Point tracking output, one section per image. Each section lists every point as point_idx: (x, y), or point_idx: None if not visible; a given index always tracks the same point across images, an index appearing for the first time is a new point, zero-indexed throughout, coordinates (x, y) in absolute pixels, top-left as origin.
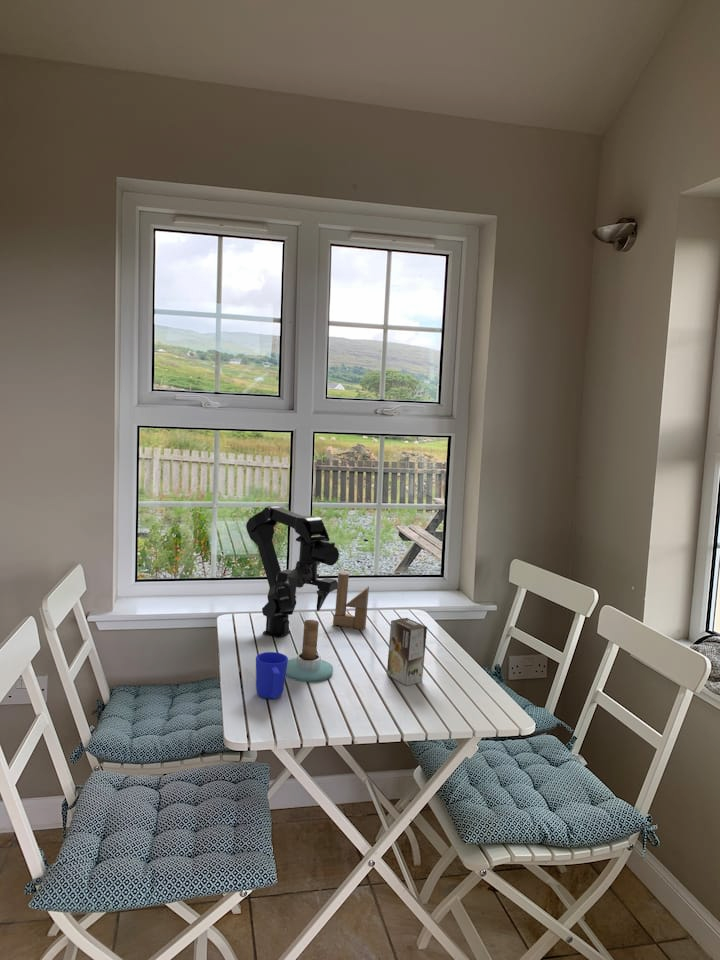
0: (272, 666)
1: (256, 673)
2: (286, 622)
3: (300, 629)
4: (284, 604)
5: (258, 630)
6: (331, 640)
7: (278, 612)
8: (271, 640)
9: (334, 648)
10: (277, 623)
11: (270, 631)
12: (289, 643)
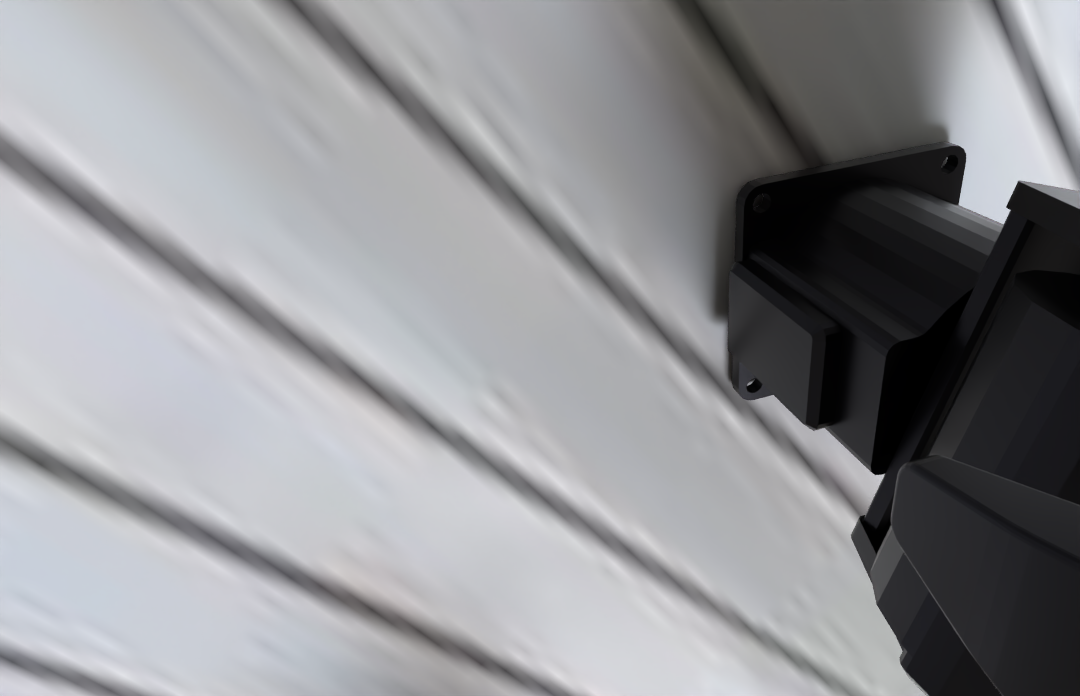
0: None
1: None
2: (809, 364)
3: (706, 528)
4: (1075, 445)
5: None
6: (280, 582)
7: (1021, 279)
8: (773, 51)
9: (35, 460)
10: (895, 262)
11: (893, 186)
12: (547, 148)
